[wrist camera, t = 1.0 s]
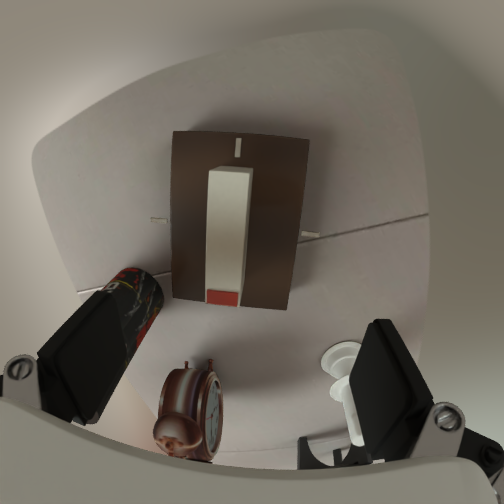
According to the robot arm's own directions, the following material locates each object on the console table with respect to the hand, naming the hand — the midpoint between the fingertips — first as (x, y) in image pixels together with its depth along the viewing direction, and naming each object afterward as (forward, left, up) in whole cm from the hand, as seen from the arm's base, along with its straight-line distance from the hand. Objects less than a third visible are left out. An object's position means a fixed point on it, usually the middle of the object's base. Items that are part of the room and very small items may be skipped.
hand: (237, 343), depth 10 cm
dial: (0, -2, -13) cm, 13 cm away
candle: (+15, +11, -16) cm, 24 cm away
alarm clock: (+20, -5, -16) cm, 26 cm away
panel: (0, -2, -16) cm, 16 cm away
